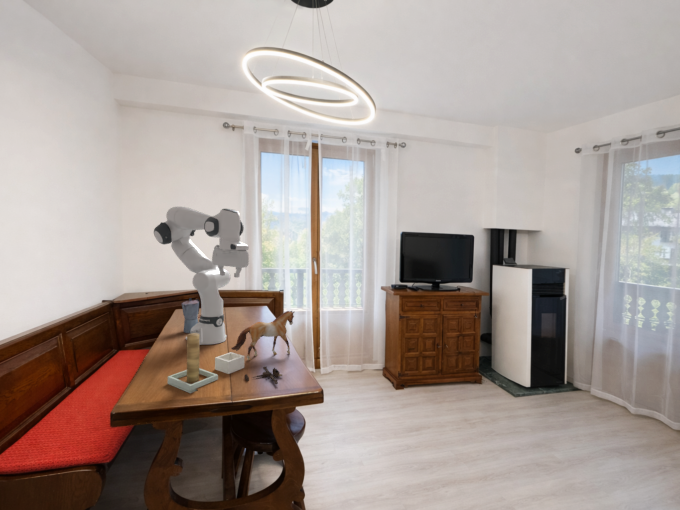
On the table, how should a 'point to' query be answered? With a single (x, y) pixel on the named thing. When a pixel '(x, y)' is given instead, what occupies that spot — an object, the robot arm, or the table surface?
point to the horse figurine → (266, 332)
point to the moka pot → (190, 314)
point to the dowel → (193, 357)
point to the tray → (191, 388)
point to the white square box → (229, 362)
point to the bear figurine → (267, 375)
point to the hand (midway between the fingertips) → (229, 276)
